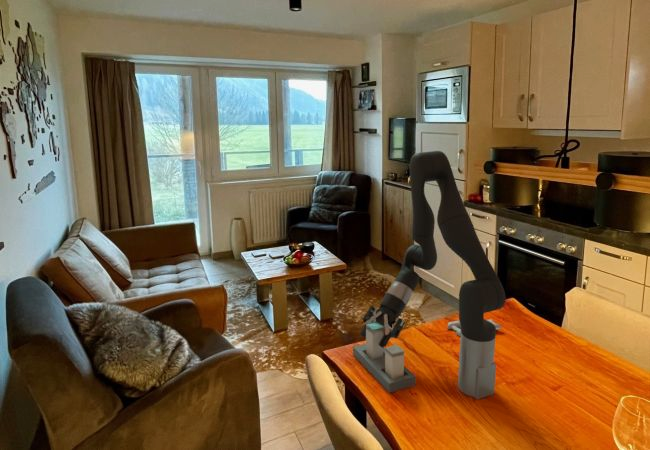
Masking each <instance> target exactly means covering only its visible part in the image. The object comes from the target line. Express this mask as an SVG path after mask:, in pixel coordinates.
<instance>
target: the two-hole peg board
mask: <svg viewBox="0 0 650 450" xmlns="http://www.w3.org/2000/svg"><path fill="white" fill-rule="evenodd" d="M352 353H353V354H352V355H353V357H354V358H356V360H357V361H358V362H359V363H360V365H362V366H363V367H364V368H365V369H366V370H367V371H368V372H369V374H371V375H372V377H373V378H375V380H376V381H377V382H378V383H379V384H380V385H381V386H382V387H383V388H384V389H385V390H386V392H387V393H394V392H397V391H401V390H403V389H408V388H410V387H411V388H412V387H413V386H416V383H417V381H416V380H417V379H416V378H417V376H416V375H415V374H414V373H413V372H412V371H411V370H409V369H408V368H407V367H406V366H405V350H404V349H403V348H401V346H399V345H398V344H394V345H389V346H385V347H384V348H383V357H379V358H375V359H370V358H369V357H368V356H367V355H366V343H363V344H358V345H354V346H352Z"/></svg>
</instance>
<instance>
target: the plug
mask: <svg viewBox="0 0 650 450" xmlns="http://www.w3.org/2000/svg"><path fill="white" fill-rule="evenodd" d="M383 335H384V326H383V325H380V324H379V323H377V322H375V323H371V324H367V325H366V337H365V344H366V355H367V356H368V357H369V358H370V359H375V358H379V357H383V348H382V347H381V346H379V342H380V341H381V339H382V337H383Z"/></svg>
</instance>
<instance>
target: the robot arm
mask: <svg viewBox="0 0 650 450" xmlns="http://www.w3.org/2000/svg"><path fill="white" fill-rule="evenodd" d="M409 180H410V183H409V184H410V193H411V201H412V202H411V203H412V228H411V238H412V240H413V241H414V242H415V243H417V244H412V245H410V246H409V247H408V248H407V249H406V250H405V253H404V257H403V261H402V264H401V268H400V271H399V272H398V274H397V277H395V280H394V281H393V282H392V284H391V285H390V286H389V288H388V290H387V291H386V293H385V294H384V296H383V298H382V300H381V301H380V303H379V304H380V305H379V307H378V308H376V307H375V306H373V305H370V306H369V308H368V310H367V311H366V313H365V315H364V316H363V317H362V322H363V323H364V326H363V327H362V329H361V331H360V336H361V337H362V338H365V339H366V325H367V324H371V323H375V322H377V323H379V324H380V325H381V326H383V328H384V330H385V331H384V332H385V333H383V337H382V339H381V341H380V342H379V346H381V347H382V348H386V347H387V345H388V343H389V341H390V339H393V338H394V339H397V338H399V335H400V334H401V331H402V329H403V328H404V326H405V324H406V323H405V321H404V320H403V319H402V318H399V317H401V315H402V314H403V312H404V310H405V308H406V307H407V306H408V304H409V302H410V300H411V298H412V295H413V293H414V291H415V290H416V287H417V286H418V284H419V283H420V280H421V277H420V275H419V274H418V273H417V272H416V271H415V270H413V269H414V267H416V268H419V269H422V270H424V271H431V270H432V269H434V268H435V267H436V264H437V262H438V252H437V248H436V242H435V237H434V232H435V224H437V226H438V228H439V232H440V233H441V236H442V238H443V241H444V243H445V245H447V247H448V248H449V249H451V251H453V253H454V254H456V255H457V256H458V257H459V258H460V259H461V261H464V263H465V264H466V265H467V266H468V268H469V269H470V271H471V273H472V274H473V277H474V279H473V280H472V279H471V280H467V281H465V282H463V283H462V284H461V285H460V289H459V292H458V320H459V321H460V325H461V328H460V329H461V336H460V339H459V340H460V342H459V343H460V345H459V358H458V359H459V360H458V378H457V379H458V380H457V388H458V389H459V391H460V392H461V393H463V394H465V395H467V396H469V397H473V398H474V399H476V400H480V399H483V398H486V397H489V396H492V395H495V388H496V387H495V386H496V374H497V373H496V372H497V363H495V362H494V361H495V351H496V349H495V348H496V338H497V337H496V336H497V330H496V327H495V326H494V324H492V323H491V322H489V321H487V320H488V319H487V320H486V319H485V318H484V317H485V316H484V314H486V313H490V312H494V311H498V310H501V309H502V308H504V306H505V304H506V300H507V299H506V293H505V289H504V287H503V284H502V282H501V279H499V276H498V275H497V272H496V271H495V269H494V268H493V265H492V264H491V262H490V260H489V258H488V256H487V255H486V252H485V250H484V248H483V246H482V243H481V241H480V239H479V236H478V234H477V232H476V229H475V226H474V223H473V222H472V219H471V216H470V214H469V212H468V210H467V209H466V206H465V204H464V201H463V199H462V196H461V194H460V190H459V188H458V186H457V182H456V180H455V175H454V172H453V168H452V166H451V163H450V161H449V159H448V157H447V155H446V153H444V152H443V151H441V150H434V151H424V152H416V153H414V154H413V155H412V156H411V158H410V162H409ZM428 182H436V183H437V186H438V189H439V192H440V203H439V207H438V211H437V218H436V220H435V214H434V211H433V209H432V208H431V205H430V204H429V201H428V200H427V198H426V194H425V193H426V192H425V184H426V183H428ZM435 221H436V223H435Z"/></svg>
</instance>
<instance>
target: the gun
mask: <svg viewBox="0 0 650 450" xmlns="http://www.w3.org/2000/svg"><path fill="white" fill-rule="evenodd" d="M487 321H489V322H491V323H492V324H494V326H495V327H496V331H498V330H502V325H501V324H498V323H496V322H495V321H494V320H493V319H487ZM446 330H453V331H455V335H456V336H458V337H461V325H460V321H459V319H458V320H454V321H450V322H449V321H448V323H447V327H446Z"/></svg>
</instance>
